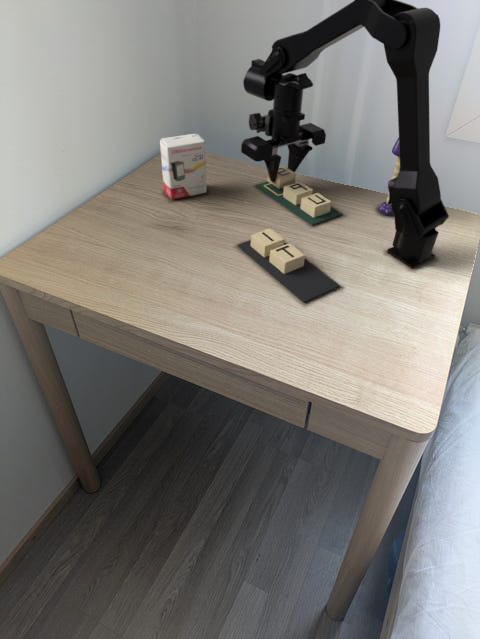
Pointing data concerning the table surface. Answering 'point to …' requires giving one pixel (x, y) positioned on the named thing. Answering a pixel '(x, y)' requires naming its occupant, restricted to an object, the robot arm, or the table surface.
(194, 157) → the ink box
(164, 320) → the table surface
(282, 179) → the tile
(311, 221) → the far word mat
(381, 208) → the toy lamp
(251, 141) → the robot arm
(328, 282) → the near word mat
